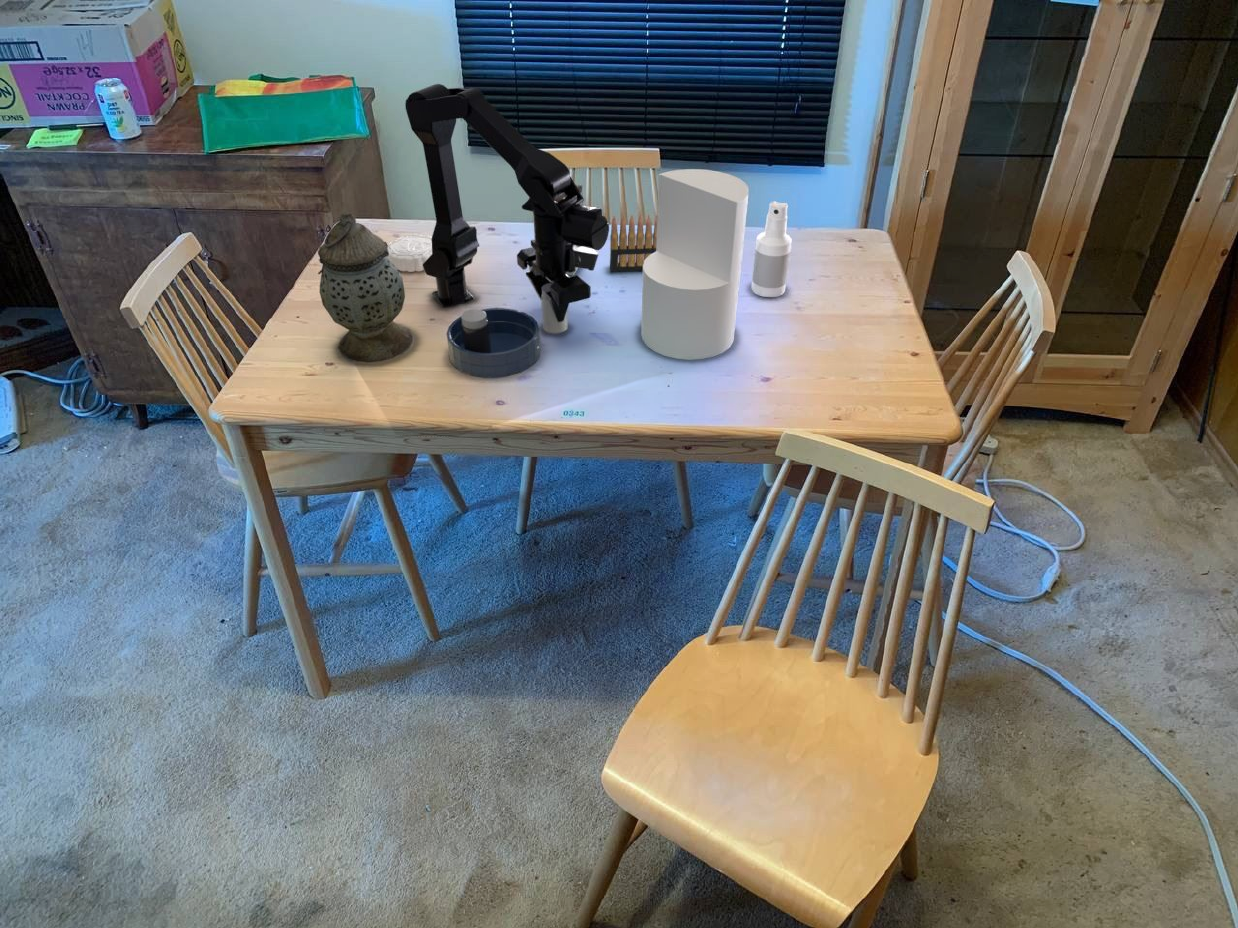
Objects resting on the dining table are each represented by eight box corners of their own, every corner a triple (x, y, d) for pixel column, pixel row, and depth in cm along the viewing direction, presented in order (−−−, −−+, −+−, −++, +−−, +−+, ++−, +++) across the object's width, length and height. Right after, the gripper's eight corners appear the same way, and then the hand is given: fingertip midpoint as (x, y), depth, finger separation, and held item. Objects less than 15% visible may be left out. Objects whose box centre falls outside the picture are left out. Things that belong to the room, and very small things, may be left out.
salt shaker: (539, 326, 161) (536, 285, 155) (560, 320, 162) (559, 280, 157) (549, 337, 157) (547, 296, 152) (571, 331, 159) (570, 290, 154)
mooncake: (376, 268, 179) (373, 252, 177) (403, 245, 188) (401, 229, 186) (427, 275, 177) (425, 260, 174) (453, 252, 186) (451, 236, 183)
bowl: (437, 345, 155) (433, 321, 152) (518, 324, 161) (516, 300, 158) (470, 389, 144) (467, 364, 141) (555, 364, 150) (554, 339, 147)
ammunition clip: (659, 267, 180) (661, 212, 173) (660, 271, 179) (662, 216, 171) (609, 268, 179) (609, 214, 172) (610, 272, 178) (610, 218, 170)
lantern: (390, 370, 148) (363, 235, 133) (319, 358, 152) (284, 224, 136) (427, 331, 159) (406, 202, 143) (360, 320, 162) (332, 192, 146)
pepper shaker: (462, 354, 152) (456, 312, 147) (485, 348, 154) (481, 306, 148) (471, 366, 149) (466, 324, 143) (495, 360, 151) (491, 317, 145)
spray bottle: (747, 294, 171) (756, 208, 159) (755, 280, 176) (765, 195, 164) (780, 300, 169) (792, 213, 157) (788, 285, 174) (800, 200, 162)
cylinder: (684, 303, 168) (692, 161, 150) (753, 335, 158) (770, 188, 141) (622, 334, 158) (623, 187, 141) (691, 370, 149) (701, 217, 131)
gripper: (617, 247, 145) (616, 327, 155) (567, 209, 158) (570, 285, 168) (558, 261, 141) (562, 342, 151) (512, 221, 153) (519, 298, 163)
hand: (554, 315), depth 158 cm, fingers closed on salt shaker, 5 cm apart
